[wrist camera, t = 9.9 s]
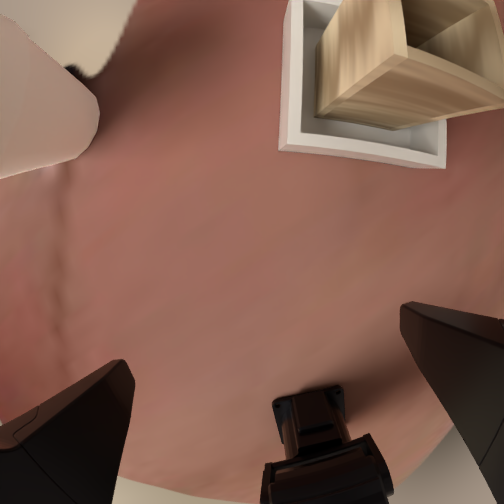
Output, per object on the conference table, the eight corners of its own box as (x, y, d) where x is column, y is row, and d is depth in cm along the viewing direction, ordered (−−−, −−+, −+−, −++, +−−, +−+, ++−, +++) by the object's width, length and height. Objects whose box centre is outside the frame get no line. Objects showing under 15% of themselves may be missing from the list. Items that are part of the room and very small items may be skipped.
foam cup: (118, 54, 18) (19, -25, 5) (122, 168, 20) (-8, 170, 7) (26, 89, 18) (-83, 64, 5) (28, 191, 20) (-93, 216, 7)
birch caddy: (393, 131, 19) (515, 106, 7) (313, 117, 19) (394, 53, 7) (392, 63, 17) (494, 1, 6) (315, 47, 17) (377, -55, 6)
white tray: (412, 168, 20) (445, 168, 16) (278, 150, 20) (287, 143, 15) (409, 47, 18) (437, 29, 13) (283, 21, 17) (291, -10, 13)
